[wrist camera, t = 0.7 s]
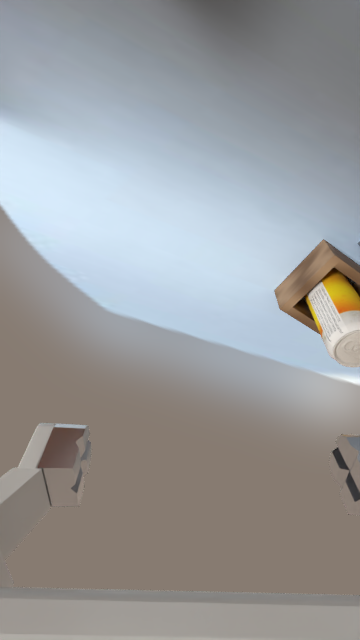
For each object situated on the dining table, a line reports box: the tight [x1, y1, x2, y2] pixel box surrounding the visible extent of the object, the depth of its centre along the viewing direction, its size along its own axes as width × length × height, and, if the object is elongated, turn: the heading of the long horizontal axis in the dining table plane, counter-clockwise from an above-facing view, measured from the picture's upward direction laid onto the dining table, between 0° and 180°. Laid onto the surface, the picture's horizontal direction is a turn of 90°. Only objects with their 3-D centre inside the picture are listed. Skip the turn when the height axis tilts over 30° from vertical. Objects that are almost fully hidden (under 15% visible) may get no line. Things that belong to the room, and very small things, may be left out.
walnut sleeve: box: [274, 239, 360, 334], centre depth 48 cm, size 10×10×5 cm
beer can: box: [304, 268, 360, 367], centre depth 44 cm, size 6×6×15 cm
